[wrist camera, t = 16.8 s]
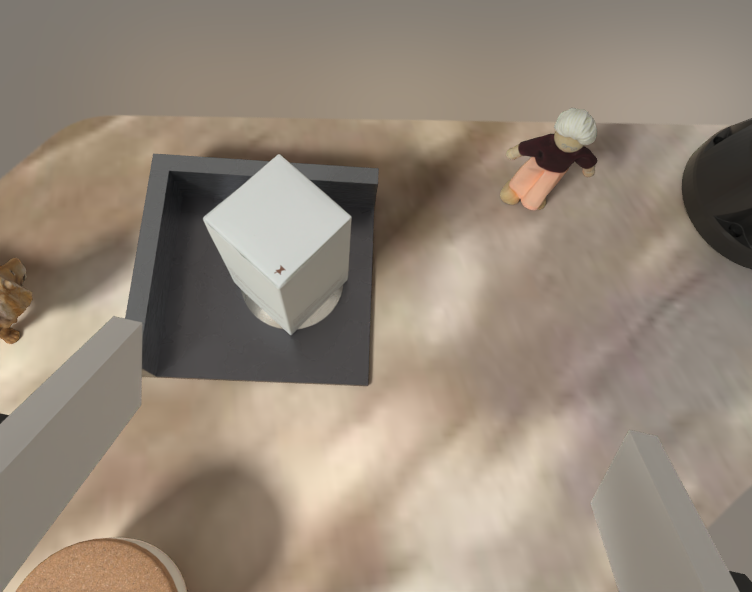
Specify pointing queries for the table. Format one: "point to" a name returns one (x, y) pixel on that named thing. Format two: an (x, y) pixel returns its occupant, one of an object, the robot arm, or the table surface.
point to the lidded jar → (106, 569)
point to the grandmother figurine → (551, 159)
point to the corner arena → (225, 299)
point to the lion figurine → (12, 298)
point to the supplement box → (283, 242)
